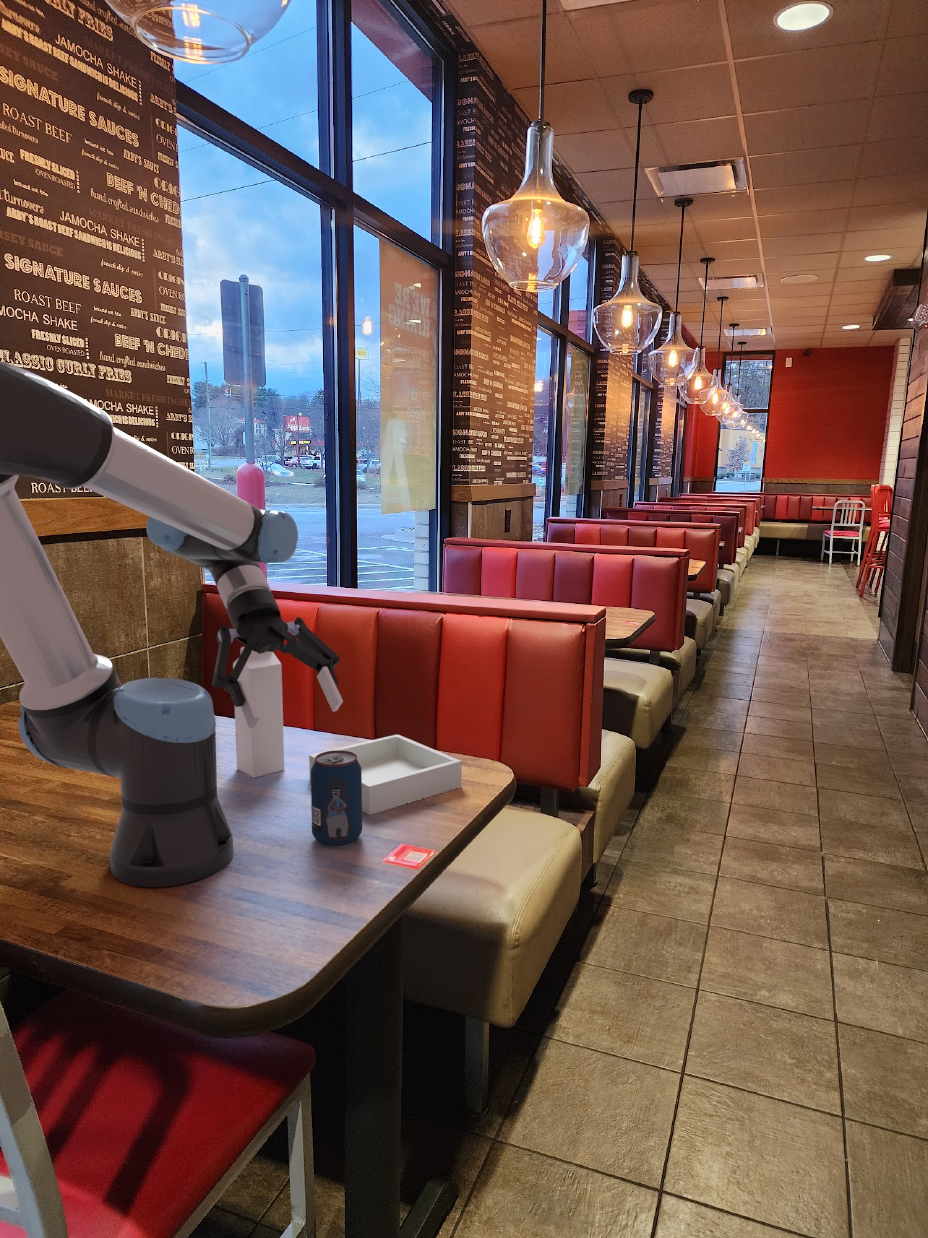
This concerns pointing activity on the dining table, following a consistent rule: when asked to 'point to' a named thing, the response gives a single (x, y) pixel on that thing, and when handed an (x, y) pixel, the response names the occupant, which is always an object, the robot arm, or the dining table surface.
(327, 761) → the soda can
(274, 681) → the milk
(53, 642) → the robot arm
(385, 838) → the dining table surface
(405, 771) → the box
